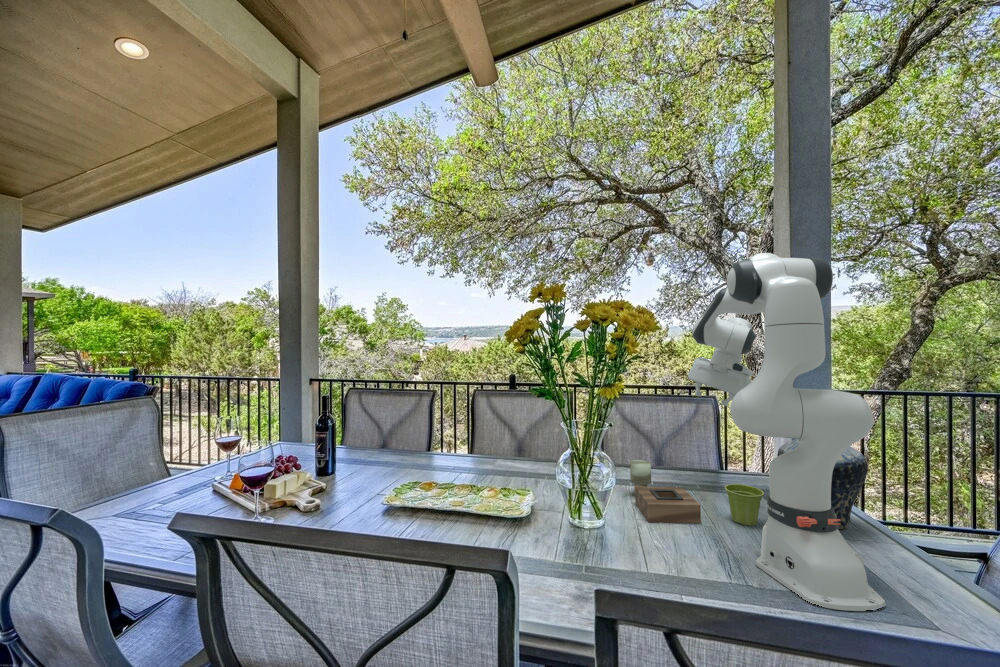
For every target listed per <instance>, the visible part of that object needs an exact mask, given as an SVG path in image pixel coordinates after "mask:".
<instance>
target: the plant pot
mask: <svg viewBox="0 0 1000 667" xmlns="http://www.w3.org/2000/svg"><path fill="white" fill-rule="evenodd" d="M724 490H725V491H726V495H727V498H728V504H729V508H730V516H731V520H732V521H733V522H735V523H739V524H741V525H744V526H755V525H756V524H758V520H759V514H760V513H759V512H760V506H761V501H762V499H763V496H764V495H765V492H764V491H763V490H762V489H760V488H758V487H756V486H751V485H747V484H741V483H730V484H726V485H724Z"/></svg>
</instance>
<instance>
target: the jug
mask: <svg viewBox="0 0 1000 667" xmlns="http://www.w3.org/2000/svg"><path fill="white" fill-rule="evenodd" d="M799 443H800V439H795V438H793V439H792V440H789V441H787V442H785V443H784V444H782V445H781V446H780V447H779V449H778V451H777V456H779V455H781V454H784V453H787V452H790V451H792V450H794V449H795V448H796V447H797V446H798V445H799ZM777 456H776V457H777ZM867 460H868V459H866V457H865V455H863V454H862V453H861V452H860V451H859V450H858V449H856V448H854V447H852V445H851V446H849V447H848V448H847V449H846V450H845V451H844V452H843V453H842V454H841V455H840V457H839V458H838V460H837V462H836V464H835V466H834V469H833V473H832V482H831V506H832V507H833V509H834V512H835V514H836V517H837V518H836V519H840V520H841V521H837V523H840V524H841V525H838V526H839V528H838V530H839V529H840V530H841V529H846V528H847V527H849V525H850V521H851V515H852V514H851V512H852V508H853V506H854V503H855V501H856V499H857V498H858V496H859V493H860V492H861V491H862V488H863V486H864V483H865V482H866V477H867V474H868V468H869V467H868V466H869V465H868V461H867Z"/></svg>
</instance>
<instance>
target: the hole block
mask: <svg viewBox="0 0 1000 667" xmlns="http://www.w3.org/2000/svg"><path fill="white" fill-rule="evenodd" d="M634 496H635V504H637V505H636V507H638V509H639V510H640V512H641V513H642V515H643V517H644V518H645V519H646V521H647V522H648V523H653V522H656V523H657V524H659V522H663V524H674V523H675V524H702V514H701V513H702V511H701V510H702V509H701V504H700V503H699V502H698V500H696V499H695V498H694V497H693V496H692V495H691V494H690V493H688V492H687V491H686V490H685V489H684V488H683V487H675V486H674V487H673V486H670V487H668V486H667V487H666V486H664V487H663V486H647V487H635V491H634Z"/></svg>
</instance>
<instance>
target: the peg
mask: <svg viewBox="0 0 1000 667" xmlns="http://www.w3.org/2000/svg"><path fill="white" fill-rule="evenodd" d="M629 470H630V471H629V472H630V478H629V479H630V482H632V483H633V485H634V487H633V488H634V492H635V487H648V485H650V484H651V483H652V463H651V462H650V461H649V460H643V459H633V460H630V461H629Z"/></svg>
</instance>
